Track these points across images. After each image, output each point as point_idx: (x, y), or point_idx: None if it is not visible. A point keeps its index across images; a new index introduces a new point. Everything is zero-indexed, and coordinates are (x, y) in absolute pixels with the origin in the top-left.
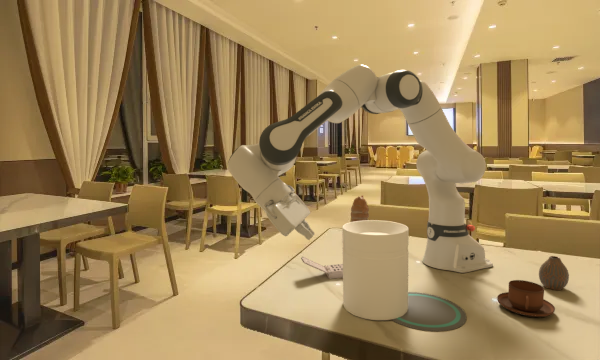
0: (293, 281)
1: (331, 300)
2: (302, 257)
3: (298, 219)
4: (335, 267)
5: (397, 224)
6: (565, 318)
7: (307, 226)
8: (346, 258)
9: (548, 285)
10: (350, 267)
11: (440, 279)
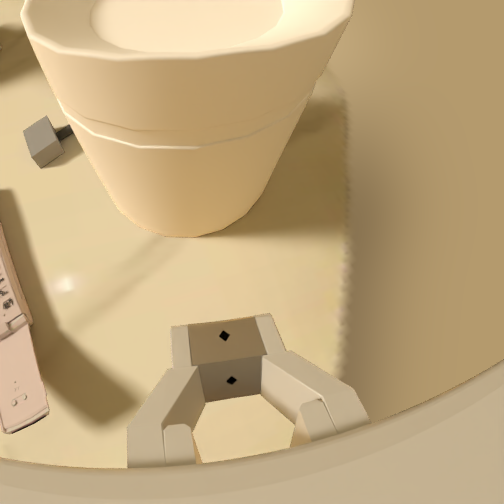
0: (97, 432)
1: (191, 274)
2: (5, 429)
3: (458, 420)
4: None
5: None
6: None
7: (184, 402)
8: (274, 135)
9: None
10: (285, 136)
11: (23, 68)
